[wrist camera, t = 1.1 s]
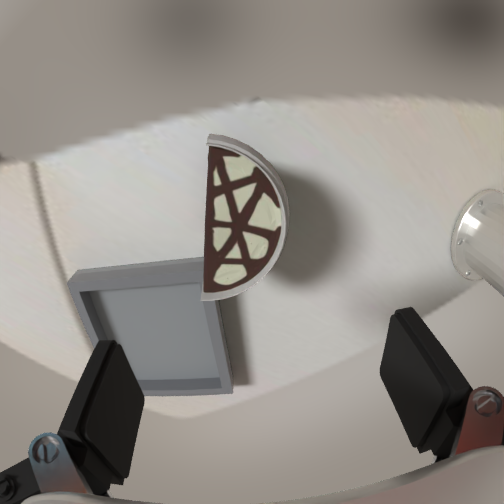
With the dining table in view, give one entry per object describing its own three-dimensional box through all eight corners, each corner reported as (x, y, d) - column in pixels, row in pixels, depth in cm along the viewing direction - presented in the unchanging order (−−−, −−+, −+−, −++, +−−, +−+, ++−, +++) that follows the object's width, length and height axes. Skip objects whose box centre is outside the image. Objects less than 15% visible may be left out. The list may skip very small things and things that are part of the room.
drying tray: (211, 256, 33) (209, 269, 30) (232, 376, 40) (233, 393, 37) (77, 270, 32) (66, 282, 30) (123, 380, 40) (118, 395, 37)
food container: (268, 255, 33) (281, 310, 24) (209, 251, 32) (200, 306, 23) (282, 134, 28) (306, 144, 19) (216, 129, 27) (206, 135, 18)
